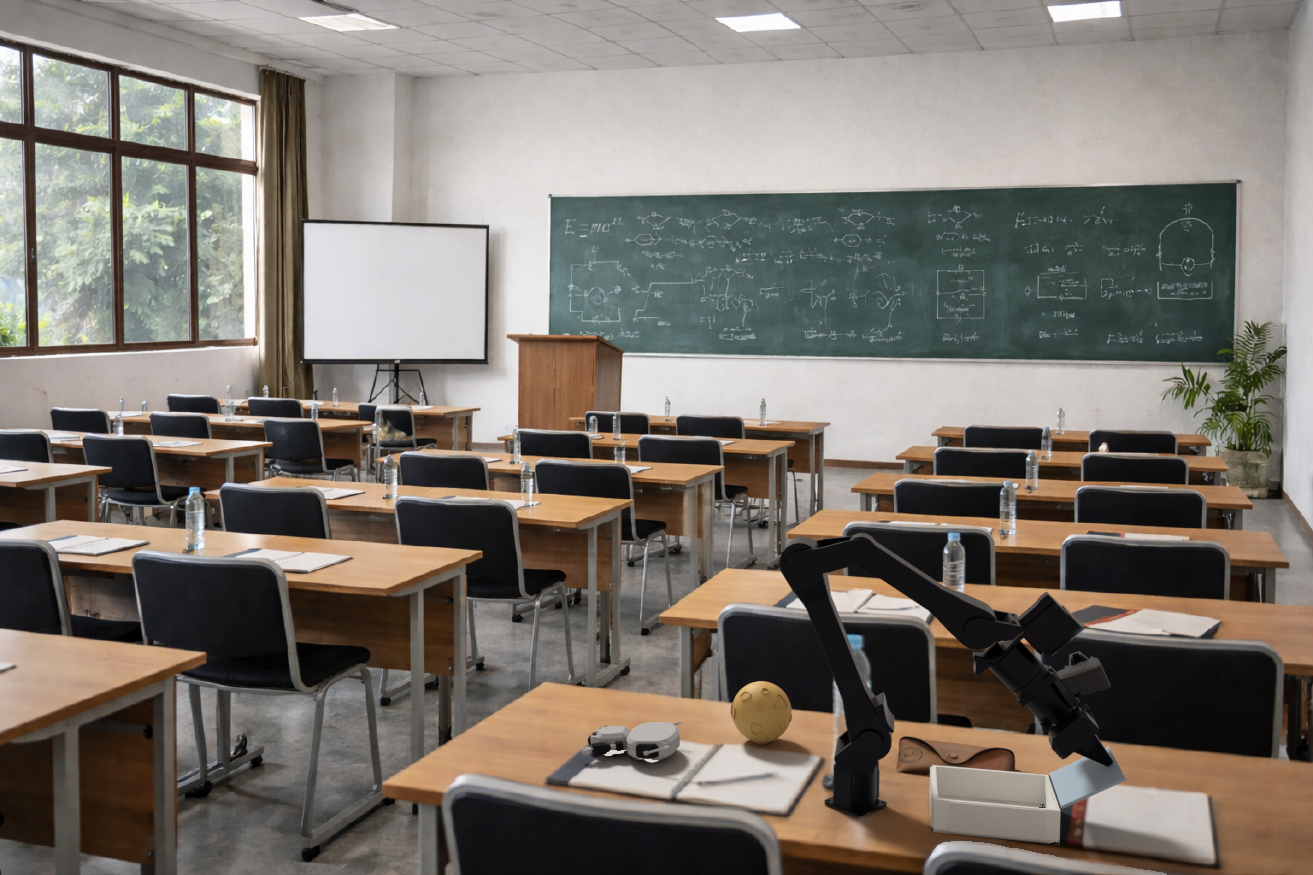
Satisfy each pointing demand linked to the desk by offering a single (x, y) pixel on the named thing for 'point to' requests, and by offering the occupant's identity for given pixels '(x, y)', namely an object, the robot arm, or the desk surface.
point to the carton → (993, 804)
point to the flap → (1085, 779)
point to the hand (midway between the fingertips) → (1110, 763)
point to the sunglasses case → (950, 756)
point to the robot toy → (636, 740)
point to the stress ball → (761, 712)
